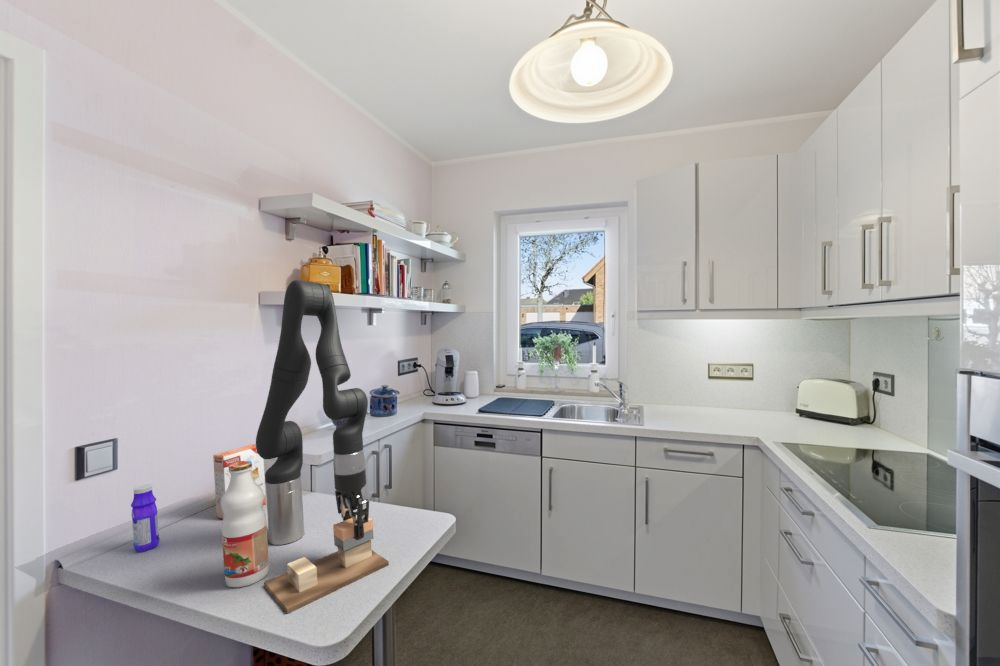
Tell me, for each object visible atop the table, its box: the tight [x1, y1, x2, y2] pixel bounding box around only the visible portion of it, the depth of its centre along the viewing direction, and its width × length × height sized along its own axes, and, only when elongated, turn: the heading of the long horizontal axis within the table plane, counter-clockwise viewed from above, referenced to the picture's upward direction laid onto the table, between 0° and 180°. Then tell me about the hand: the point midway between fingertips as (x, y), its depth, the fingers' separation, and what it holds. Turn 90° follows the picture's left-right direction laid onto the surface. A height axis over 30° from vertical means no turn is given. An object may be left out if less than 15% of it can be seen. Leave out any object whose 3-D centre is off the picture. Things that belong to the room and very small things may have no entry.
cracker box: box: [212, 443, 267, 520], centre depth 148 cm, size 14×6×21 cm, turn 153°
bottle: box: [130, 484, 160, 553], centre depth 125 cm, size 7×6×17 cm
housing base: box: [333, 528, 374, 551], centre depth 111 cm, size 8×5×2 cm, turn 135°
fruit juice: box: [221, 461, 270, 588], centre depth 107 cm, size 9×9×28 cm
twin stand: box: [263, 540, 390, 614], centre depth 106 cm, size 15×24×5 cm, turn 135°
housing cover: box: [332, 515, 374, 541], centre depth 111 cm, size 8×5×2 cm, turn 135°
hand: (353, 534), depth 111 cm, fingers open, 5 cm apart
